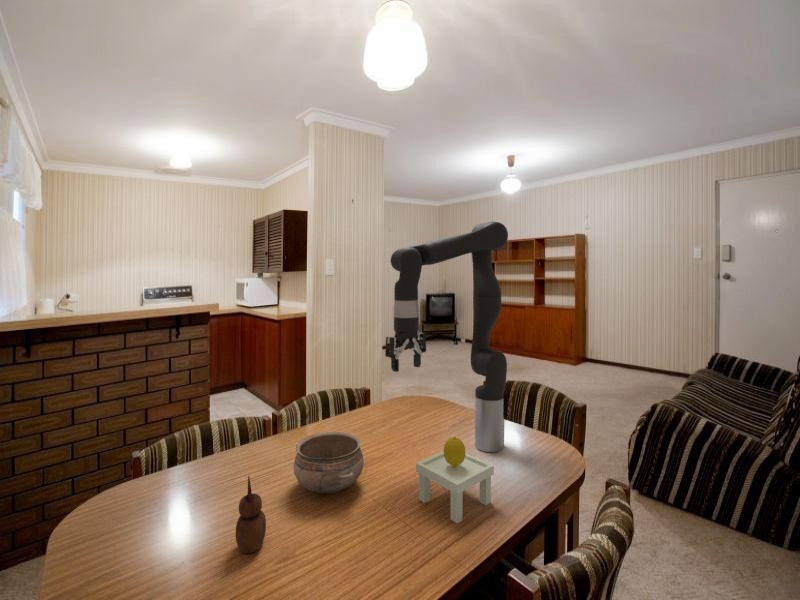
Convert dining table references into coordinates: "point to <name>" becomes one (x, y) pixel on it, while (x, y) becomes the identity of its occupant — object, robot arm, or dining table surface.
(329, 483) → the cooking pot
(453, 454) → the lemon
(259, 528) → the wooden figurine
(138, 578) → the dining table surface
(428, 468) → the stool
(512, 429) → the dining table surface
